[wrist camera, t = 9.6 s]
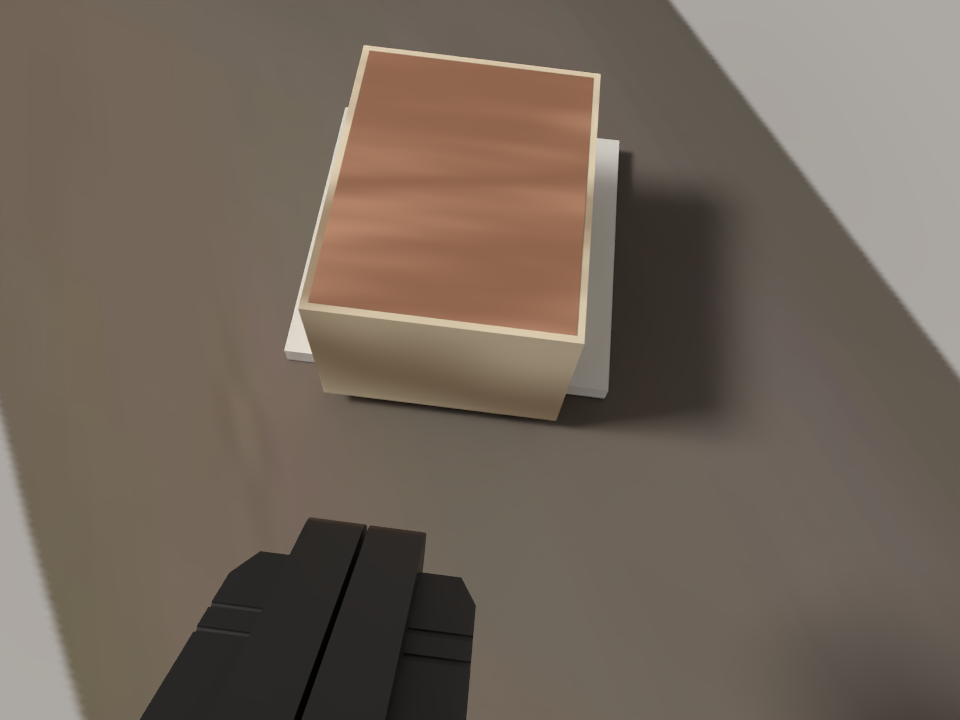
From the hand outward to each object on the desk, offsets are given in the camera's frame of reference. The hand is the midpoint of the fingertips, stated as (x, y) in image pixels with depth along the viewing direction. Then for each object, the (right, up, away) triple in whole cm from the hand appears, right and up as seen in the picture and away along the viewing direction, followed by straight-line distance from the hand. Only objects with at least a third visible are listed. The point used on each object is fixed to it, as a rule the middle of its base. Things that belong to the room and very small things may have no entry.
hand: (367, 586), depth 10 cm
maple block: (0, +3, +11) cm, 11 cm away
